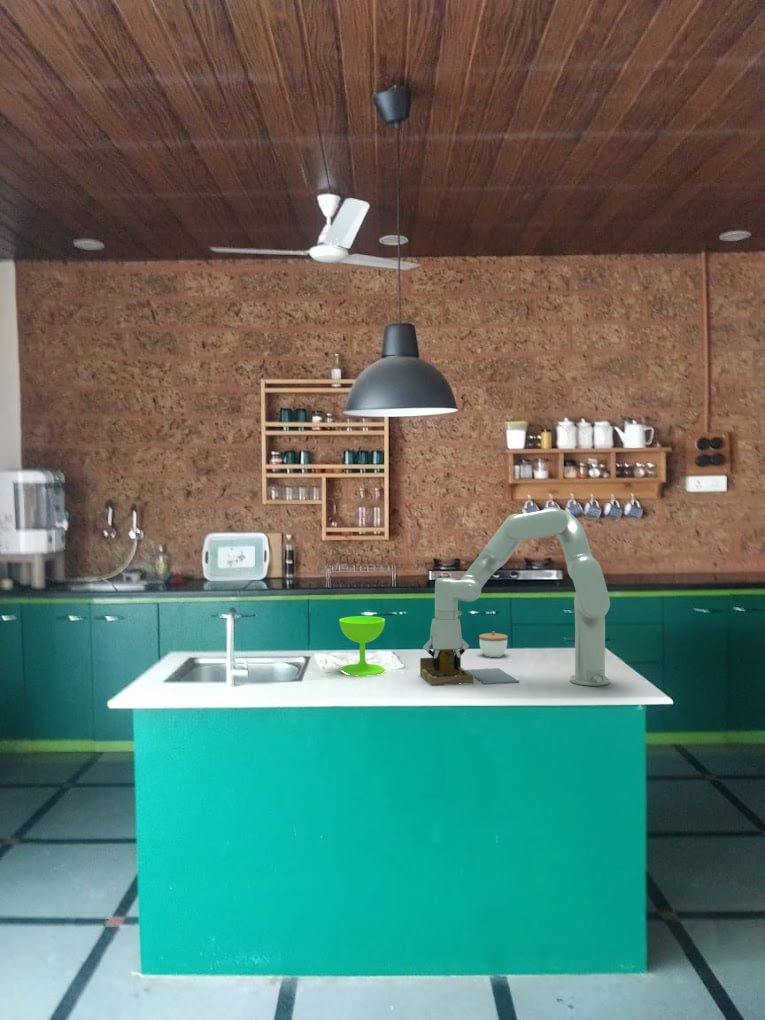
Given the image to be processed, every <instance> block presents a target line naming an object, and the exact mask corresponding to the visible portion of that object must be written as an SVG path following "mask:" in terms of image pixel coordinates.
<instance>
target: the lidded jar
mask: <svg viewBox="0 0 765 1020" xmlns="http://www.w3.org/2000/svg"><path fill="white" fill-rule="evenodd" d="M508 638H509V637H508V634H507V635H506V634H504V633H498V632H497V633H496V632H495V631H493V630H492V631H491V632H490V633H482V634H479V636H478V639H479V642H478V643H479V648H480V651H481V652H482V653H483V655H484V656H485V657H486V656H489V657H488V658H491V657H497V658H501V657H502V656H503V655H504V654H505V652H506V650H507V648H508ZM500 656H501V657H500Z"/></svg>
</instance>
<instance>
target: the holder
mask: <svg viewBox="0 0 765 1020" xmlns="http://www.w3.org/2000/svg"><path fill="white" fill-rule="evenodd" d="M461 657H462V656H461ZM461 657H460V666H459V667H458V670H456V669H455V668H454V672H455V673H454V675H455V676H448V677H436V670H435V669H434V668H433V657H432V656H430V657H420V658H419V668H420V669H419V672H420V673H419V675H421V676H422V677H423V680H425V682H426V683H428V682H429V683H430V684H431V685H436V686H446V685H445V684H455V685H460V684H459V683H473V684H474V677H473V675H471V674H470V673H468V672H467V671H466V670H467V669H464V668H463V667H461V664H462V663H461V659H462V658H461ZM456 674H459V675H460V676H459V675H456ZM421 676H420V677H421ZM422 677H421V678H422ZM429 683H428V684H429ZM430 684H429V685H430ZM431 685H430V686H431Z"/></svg>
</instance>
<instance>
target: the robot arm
mask: <svg viewBox="0 0 765 1020" xmlns="http://www.w3.org/2000/svg"><path fill="white" fill-rule="evenodd" d="M551 536H552V537H553V536H556V537H557V538H558V539H559V540H558V541H560V545H561V548H562V551H563V555H564V559H565V563H566V569H567V573H568V575H569V578H570V579H572V582H573V586H574V588H575V589H574V590H575V594H574V597H573V598H574V599H573V605H574V606H573V607H574V625H575V626H574V631H575V634H574V674H573V675H571V676H570V678H569V681H570V682H572V683H574V684H576V685H581V686H589V687H590V686H592V687H595V686H606V685H608V684H610V683H611V682H610V681H611V680H610V678H609V677H607V676H606V670H605V669H606V619H605V616H606V614H608V612H609V611H610V610H609V609H610V607H611V602H610V596H609V592H608V589H607V584H606V580H605V578H604V577H605V576H604V573H603V569H602V567H601V564H600V562H598V560H597V559H596V558H595V557H593V556H594V555H593V554H592V551H591V548H590V545H589V541H588V537H587V535H586V531H585V529H584V527H583V525H582V524H581V523H580V521H579V520H578V519H577V518H576V517H575V516H574V515H573V514H572V513H570V512H568V511H567V510H564V509H562V508H558V507H553V506H551V507H549V506H548V507H546V508H543V509H542V510H537V511H533V512H528V513H527V512H526V513H512V514H510V515H509V516H508V517H507V518H506V519H505V520H504V521H503V522H502V524H501V525H500V527H499V528H498V529H497V531H496V532H495V533H494V535H493V536H492V537H491V539H489V541H488V542H487V543H486V545H485V546H484V548H483V549H482V550H481V551H480V553H479V555H478V556H477V557H476V559H475V560H474V561H473V563H471V565H470V567H468V569H467V570H466V572H465V573H464V574H463V575H462V576H461V578H460V579H456V578H454V577H439V578H437V579H436V580H435V582H434V618H431V619H432V620H431V625H430V634H429V639H428V640H427V641H426V643H425V644H424V645H423V647H422V648H423V650H425V651H426V653H428V654H429V655H430V657H433V668H434V669H435V670H436V671H438V670H439V659H438V657H437V656H438V654H439V651H440V650H447V649H450V650H453V651H454V653H455V660H454V661H455V663H454V665H455V667H454V668H455V669H456V670H458V667H459V666H460V657H462V655H463V654H464V653H465V651H466V650H467V649H468V648H469V647H470V645H469V644H468V643H467V642H466V641H465V640H464V639H463V636H462V635H463V633H462V626H461V621H460V618H459V616H462V615H463V614H462V613H463V612H462V611H461V610H459V609H458V606H459V605H458V604H459V603H458V601H463V602H475V601H476V600H478V599H479V597H480V596H481V594H482V588H484V586H485V585H486V583H487V582H488V580H489V579H490V577H492V575H493V574H494V573H495V572H496V571H497V570H499V569H500V568H502V567H503V566H504V565H505V564H506V563H507V562H508V560H509V559H510V558H511V556H513V554H514V553H515V551H516V550H517V549H518V547H519V546H520V544H521V543H523V541H527V540H535V539H540V538H546V537H551ZM430 648H433V649H430Z"/></svg>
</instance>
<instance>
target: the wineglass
mask: <svg viewBox="0 0 765 1020" xmlns="http://www.w3.org/2000/svg"><path fill="white" fill-rule="evenodd" d="M338 621H339V627H340V629H341V632H342V633H343V635H344V636H345V637H346V638H347V639H349V640H350V641H352V642H355V643H358V644H359V661H358V663H354V664H353V663H352V664H348V665H343V666H342V667H341V668H340V669H341V670H343V671H344V672H346V673H348V674H350V675H358V676H357V677H368V676H367V675H375V676H378V675H377V674H380V675H382V674H381V673H383V672H384V671H385V672H386V669H385V668H384V667H383V666H381V665H379V664H374V663H367V661H366V643H370V642H372V641H374V640H375V639H377V638H378V637H379V636H380V634H382V632H383V631H384V629H385V625H386V624H385V623H386V619H385V618H383V617H379V616H370V615H368V616H365V615H360V616H359V615H358V616H347V617H342V618H339V619H338ZM385 672H384V673H385ZM384 673H383V674H384Z"/></svg>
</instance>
